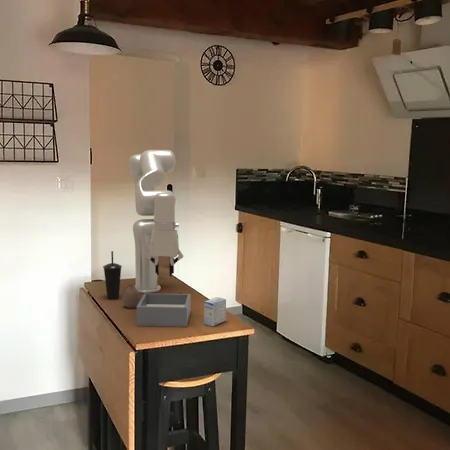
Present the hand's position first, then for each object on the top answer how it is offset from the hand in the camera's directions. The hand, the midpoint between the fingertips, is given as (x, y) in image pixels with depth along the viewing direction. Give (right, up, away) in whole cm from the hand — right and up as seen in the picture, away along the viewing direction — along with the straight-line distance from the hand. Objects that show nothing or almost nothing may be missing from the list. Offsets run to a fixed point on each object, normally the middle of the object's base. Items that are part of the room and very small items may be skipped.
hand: (164, 274), depth 209 cm
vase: (-15, -15, +17) cm, 27 cm away
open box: (0, -17, +3) cm, 17 cm away
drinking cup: (-25, -13, +29) cm, 40 cm away
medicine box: (+19, -18, -2) cm, 26 cm away
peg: (0, -2, 0) cm, 2 cm away
